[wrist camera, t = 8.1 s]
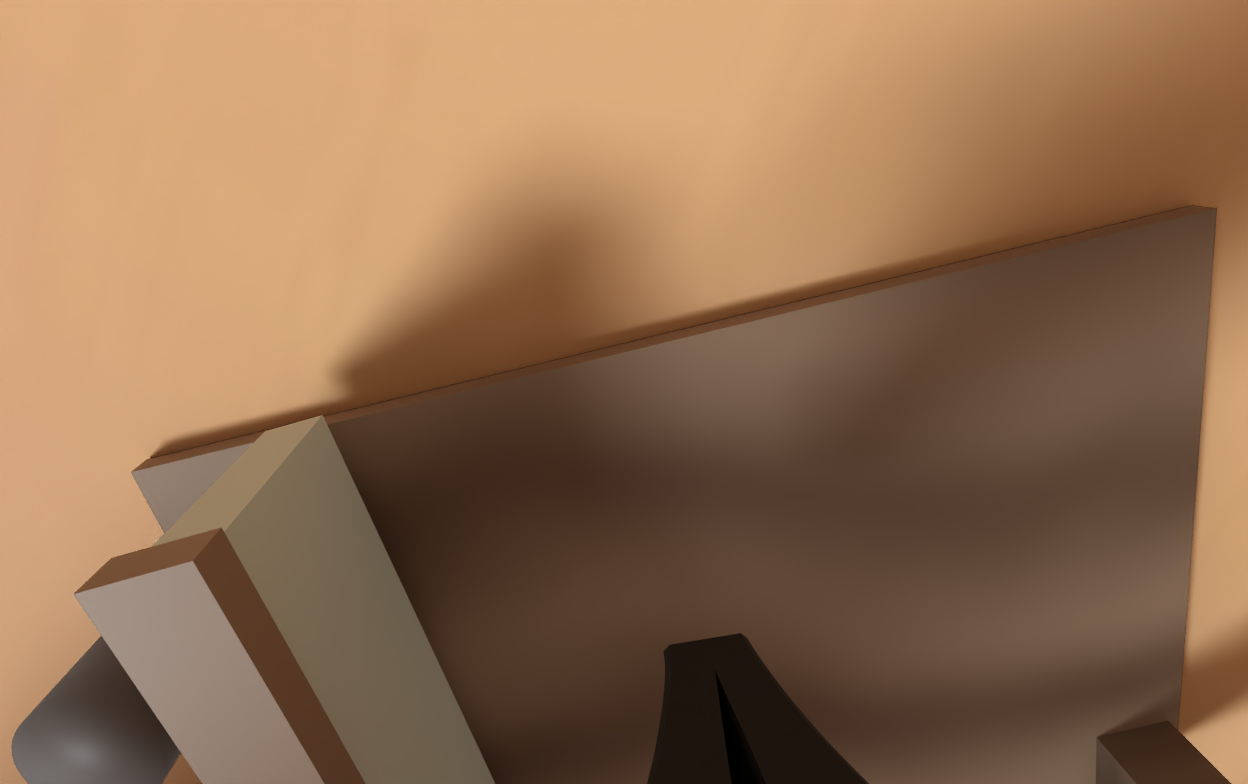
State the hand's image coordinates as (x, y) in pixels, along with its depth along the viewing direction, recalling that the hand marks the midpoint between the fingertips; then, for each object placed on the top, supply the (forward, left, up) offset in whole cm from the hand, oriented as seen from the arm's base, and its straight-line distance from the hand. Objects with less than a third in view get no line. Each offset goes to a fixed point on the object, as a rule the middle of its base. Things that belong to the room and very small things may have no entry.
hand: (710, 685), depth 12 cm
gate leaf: (-2, +7, -4) cm, 8 cm away
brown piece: (-6, -1, -5) cm, 8 cm away
